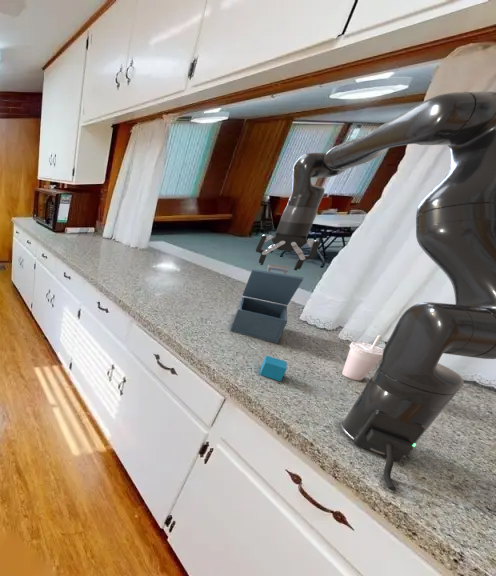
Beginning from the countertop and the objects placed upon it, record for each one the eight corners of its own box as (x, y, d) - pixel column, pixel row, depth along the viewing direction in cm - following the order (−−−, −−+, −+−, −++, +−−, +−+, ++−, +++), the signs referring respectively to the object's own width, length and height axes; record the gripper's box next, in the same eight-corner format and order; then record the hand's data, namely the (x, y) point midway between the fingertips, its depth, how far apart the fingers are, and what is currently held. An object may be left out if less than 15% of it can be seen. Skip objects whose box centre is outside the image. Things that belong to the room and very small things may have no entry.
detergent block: (280, 381, 82) (286, 369, 81) (259, 374, 85) (265, 362, 83) (280, 373, 85) (286, 361, 83) (260, 367, 88) (266, 355, 86)
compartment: (277, 343, 99) (287, 321, 95) (230, 330, 107) (238, 309, 103) (277, 326, 108) (287, 305, 105) (234, 315, 116) (242, 295, 113)
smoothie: (360, 385, 80) (387, 343, 74) (329, 371, 86) (352, 330, 80) (375, 381, 82) (402, 338, 76) (344, 366, 87) (367, 326, 82)
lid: (303, 279, 94) (306, 265, 96) (251, 270, 102) (256, 258, 104) (287, 305, 105) (290, 292, 106) (242, 295, 113) (246, 284, 114)
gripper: (266, 219, 97) (250, 265, 103) (330, 224, 88) (308, 274, 94) (267, 216, 102) (251, 260, 108) (327, 220, 93) (306, 268, 99)
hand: (278, 267), depth 101 cm, fingers open, 8 cm apart
